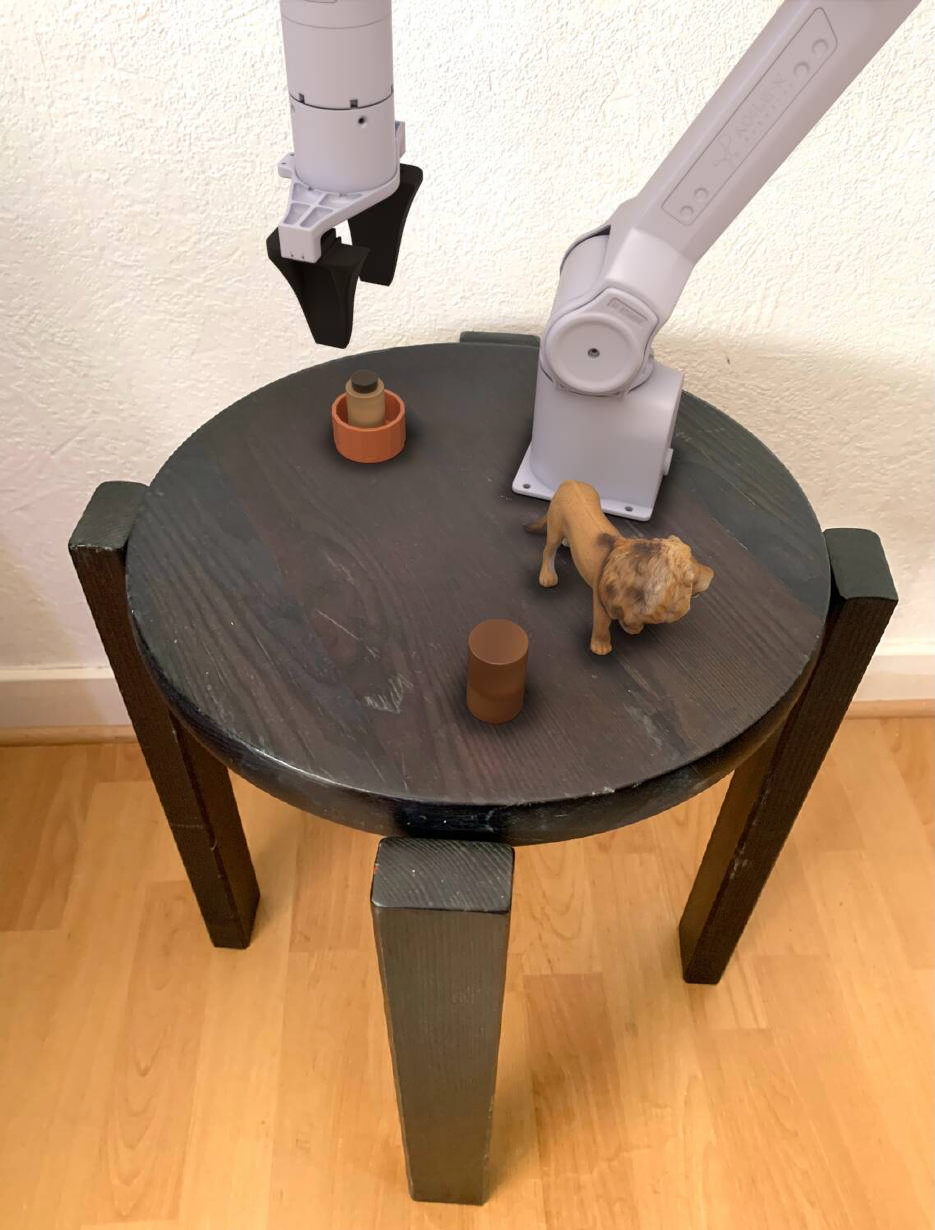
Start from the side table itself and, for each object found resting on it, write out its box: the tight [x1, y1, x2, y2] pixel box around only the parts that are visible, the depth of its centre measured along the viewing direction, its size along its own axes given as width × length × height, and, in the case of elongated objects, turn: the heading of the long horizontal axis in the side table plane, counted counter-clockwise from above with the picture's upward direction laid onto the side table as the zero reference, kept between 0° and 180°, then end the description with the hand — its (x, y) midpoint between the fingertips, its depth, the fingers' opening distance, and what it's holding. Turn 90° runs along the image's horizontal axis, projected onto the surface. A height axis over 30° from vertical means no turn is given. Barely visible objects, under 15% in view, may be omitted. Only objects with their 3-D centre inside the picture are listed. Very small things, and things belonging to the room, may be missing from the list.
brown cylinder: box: [465, 618, 530, 725], centre depth 57 cm, size 3×3×5 cm
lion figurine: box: [522, 479, 715, 656], centre depth 61 cm, size 15×5×9 cm, turn 33°
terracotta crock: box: [331, 388, 407, 464], centre depth 73 cm, size 5×5×3 cm
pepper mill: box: [345, 369, 386, 429], centre depth 72 cm, size 3×3×5 cm
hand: (355, 311), depth 67 cm, fingers open, 7 cm apart
